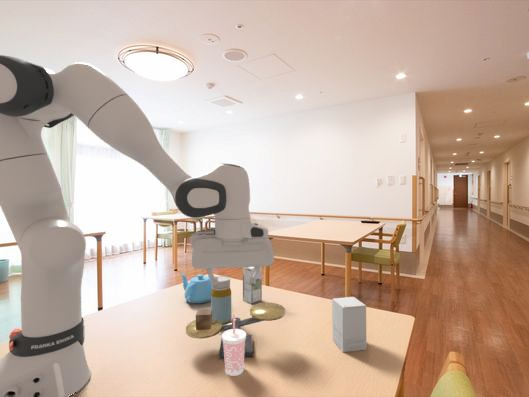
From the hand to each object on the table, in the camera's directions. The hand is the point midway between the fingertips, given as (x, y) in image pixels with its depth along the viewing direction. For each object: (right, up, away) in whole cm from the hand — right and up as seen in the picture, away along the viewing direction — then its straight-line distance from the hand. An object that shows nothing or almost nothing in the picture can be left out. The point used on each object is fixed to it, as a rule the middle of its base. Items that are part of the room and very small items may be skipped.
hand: (233, 284), depth 70 cm
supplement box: (+32, -21, +12) cm, 40 cm away
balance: (0, -21, +10) cm, 24 cm away
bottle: (-7, -21, +27) cm, 35 cm away
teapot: (-19, -21, +49) cm, 57 cm away
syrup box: (+3, -21, +46) cm, 51 cm away
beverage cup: (0, -22, 0) cm, 22 cm away
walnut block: (-9, -14, +9) cm, 19 cm away
